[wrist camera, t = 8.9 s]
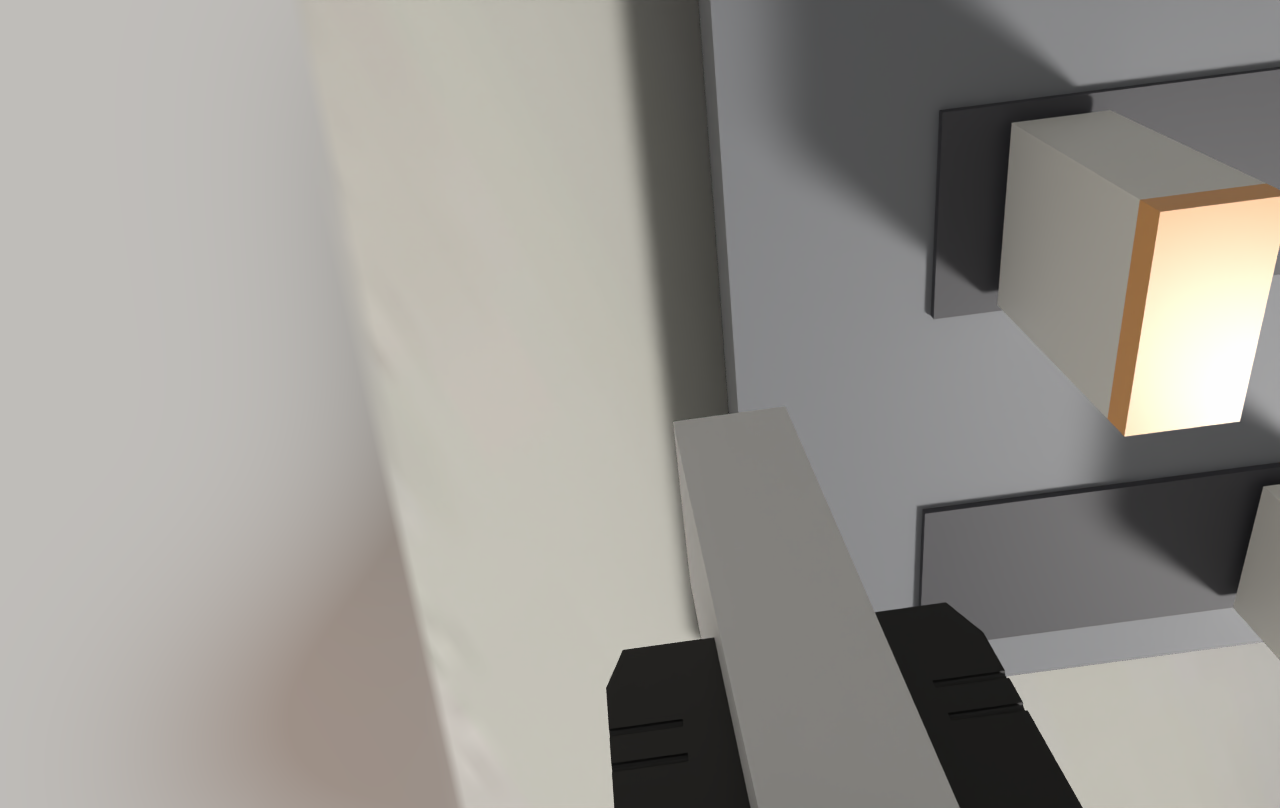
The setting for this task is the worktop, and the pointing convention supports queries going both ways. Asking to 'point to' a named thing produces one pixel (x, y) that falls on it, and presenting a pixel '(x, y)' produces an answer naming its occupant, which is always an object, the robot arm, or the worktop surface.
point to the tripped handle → (1137, 267)
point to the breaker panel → (980, 306)
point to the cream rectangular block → (1263, 573)
